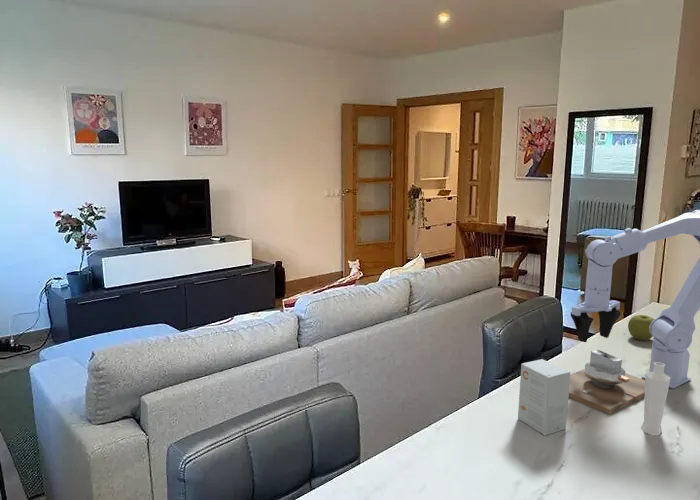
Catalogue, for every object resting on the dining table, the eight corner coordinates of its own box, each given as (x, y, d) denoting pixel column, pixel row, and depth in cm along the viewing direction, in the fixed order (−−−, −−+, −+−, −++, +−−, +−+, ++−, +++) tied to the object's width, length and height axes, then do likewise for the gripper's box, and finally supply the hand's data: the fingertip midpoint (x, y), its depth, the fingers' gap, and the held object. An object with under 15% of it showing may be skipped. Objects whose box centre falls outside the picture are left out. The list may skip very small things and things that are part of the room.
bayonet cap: (576, 372, 133) (578, 351, 132) (602, 366, 137) (604, 346, 136) (612, 390, 123) (615, 368, 122) (640, 383, 127) (642, 362, 126)
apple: (660, 343, 162) (663, 320, 161) (634, 343, 162) (636, 320, 161) (647, 334, 170) (649, 313, 168) (622, 334, 170) (624, 313, 168)
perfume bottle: (667, 437, 110) (676, 369, 107) (644, 435, 110) (652, 367, 108) (659, 426, 114) (667, 360, 111) (637, 424, 115) (645, 358, 112)
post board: (597, 367, 144) (598, 357, 144) (659, 389, 131) (660, 378, 130) (547, 388, 132) (548, 376, 131) (609, 414, 119) (611, 402, 118)
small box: (566, 429, 113) (571, 371, 110) (544, 436, 110) (549, 377, 108) (538, 412, 120) (542, 358, 118) (516, 418, 117) (520, 363, 115)
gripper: (589, 294, 128) (584, 348, 130) (632, 288, 133) (626, 339, 136) (567, 287, 134) (562, 338, 137) (608, 281, 140) (603, 331, 142)
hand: (593, 338), depth 137 cm, fingers open, 7 cm apart
